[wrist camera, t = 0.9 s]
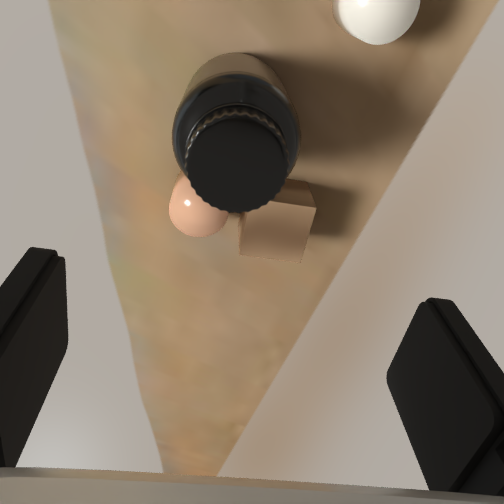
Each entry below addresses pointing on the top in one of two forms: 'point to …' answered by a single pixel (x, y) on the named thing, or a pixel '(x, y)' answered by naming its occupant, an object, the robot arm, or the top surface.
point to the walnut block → (279, 225)
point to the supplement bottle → (236, 133)
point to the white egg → (375, 18)
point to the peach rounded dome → (193, 211)
